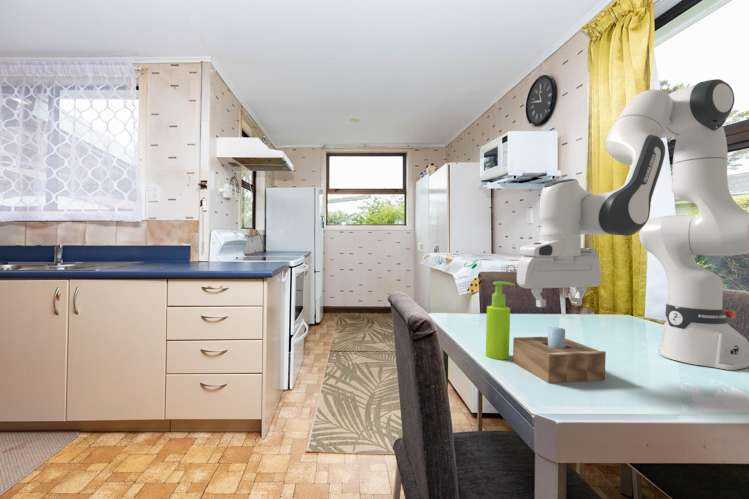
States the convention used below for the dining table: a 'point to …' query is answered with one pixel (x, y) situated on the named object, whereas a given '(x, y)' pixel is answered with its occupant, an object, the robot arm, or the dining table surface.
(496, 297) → the soap dispenser
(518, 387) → the dining table surface
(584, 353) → the socket block
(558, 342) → the dowel
